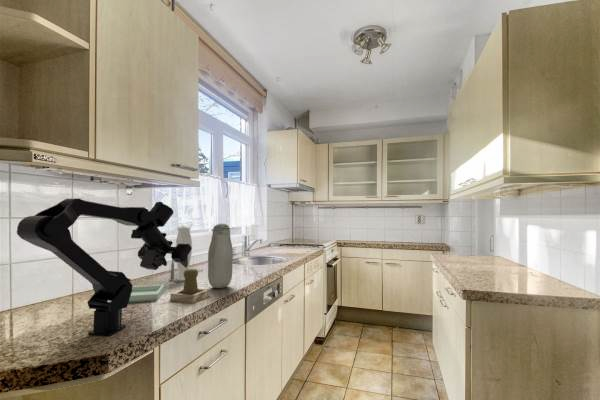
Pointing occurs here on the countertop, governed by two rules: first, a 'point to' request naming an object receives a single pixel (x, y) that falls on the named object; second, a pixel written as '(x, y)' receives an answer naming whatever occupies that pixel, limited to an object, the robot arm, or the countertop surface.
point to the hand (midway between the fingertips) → (176, 265)
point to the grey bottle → (220, 257)
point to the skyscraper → (186, 238)
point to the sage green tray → (146, 293)
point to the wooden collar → (189, 296)
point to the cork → (190, 282)
